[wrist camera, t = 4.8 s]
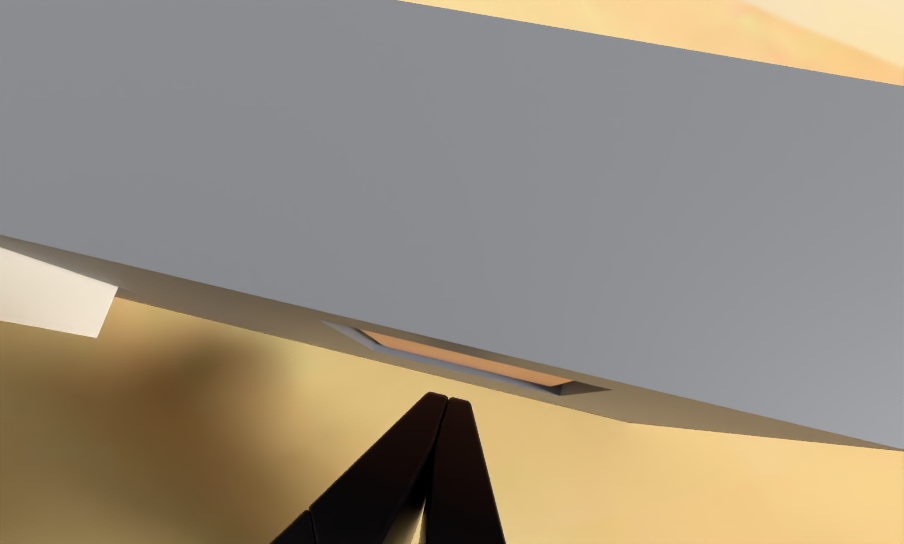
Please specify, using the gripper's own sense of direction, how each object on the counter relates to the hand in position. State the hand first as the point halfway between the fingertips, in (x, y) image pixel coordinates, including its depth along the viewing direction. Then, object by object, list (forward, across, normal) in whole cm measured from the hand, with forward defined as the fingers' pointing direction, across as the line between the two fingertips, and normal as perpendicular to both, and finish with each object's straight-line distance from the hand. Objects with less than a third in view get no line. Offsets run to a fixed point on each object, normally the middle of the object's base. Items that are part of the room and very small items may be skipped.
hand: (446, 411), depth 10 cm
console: (+8, +5, +3) cm, 10 cm away
